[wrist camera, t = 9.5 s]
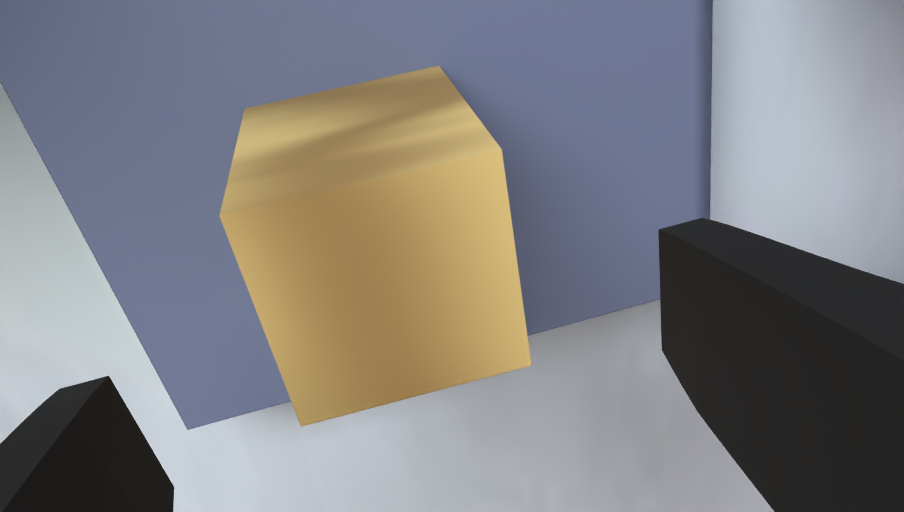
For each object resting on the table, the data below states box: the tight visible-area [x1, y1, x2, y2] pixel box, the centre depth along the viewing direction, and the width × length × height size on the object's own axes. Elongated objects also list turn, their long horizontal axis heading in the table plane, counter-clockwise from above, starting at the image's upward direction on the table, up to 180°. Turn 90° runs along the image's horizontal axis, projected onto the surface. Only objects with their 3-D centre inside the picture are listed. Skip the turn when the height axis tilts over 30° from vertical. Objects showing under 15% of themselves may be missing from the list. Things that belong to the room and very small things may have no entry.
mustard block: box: [219, 65, 532, 426], centre depth 13 cm, size 4×4×5 cm
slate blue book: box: [0, 0, 713, 430], centre depth 16 cm, size 14×11×3 cm
